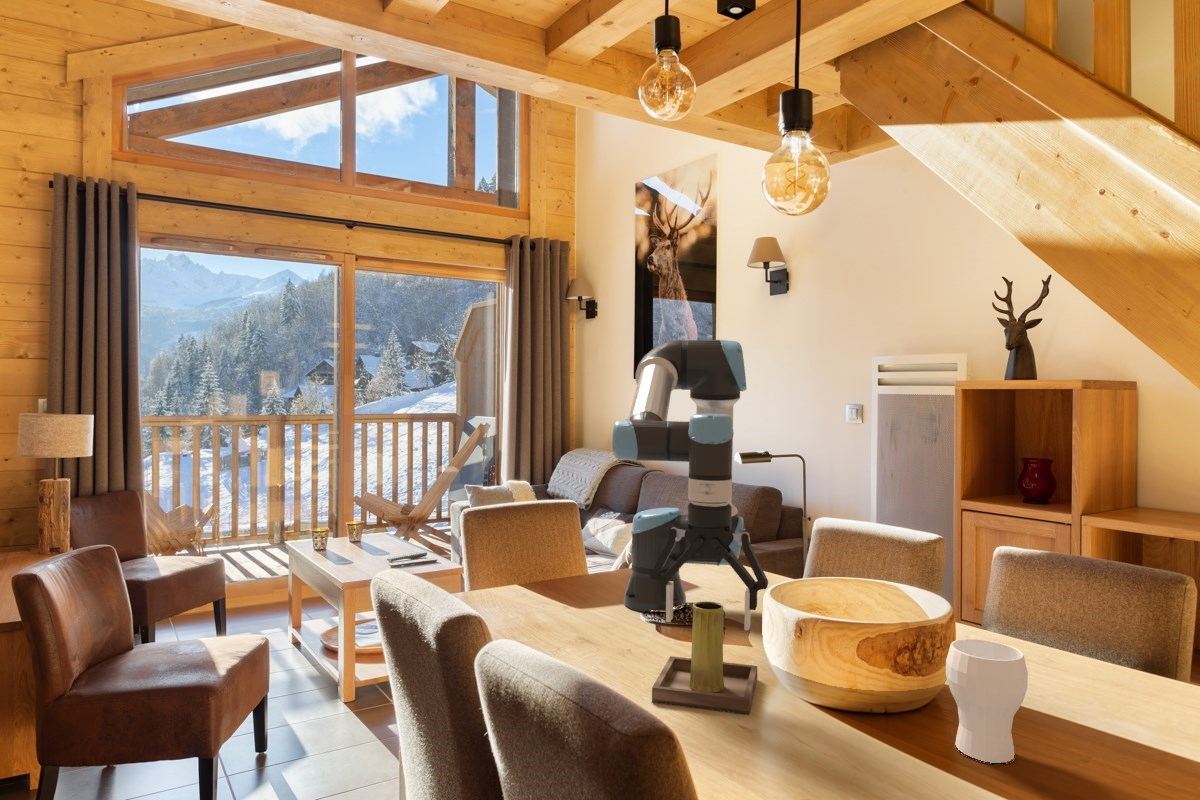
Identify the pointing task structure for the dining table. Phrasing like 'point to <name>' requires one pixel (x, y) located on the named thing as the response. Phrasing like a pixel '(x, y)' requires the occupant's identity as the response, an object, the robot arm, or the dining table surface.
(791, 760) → the dining table surface
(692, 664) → the vase
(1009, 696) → the cup
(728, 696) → the walnut tray
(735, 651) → the dining table surface
